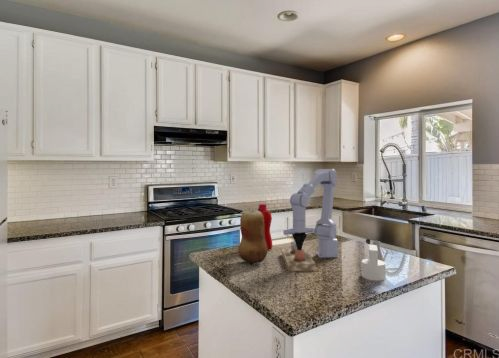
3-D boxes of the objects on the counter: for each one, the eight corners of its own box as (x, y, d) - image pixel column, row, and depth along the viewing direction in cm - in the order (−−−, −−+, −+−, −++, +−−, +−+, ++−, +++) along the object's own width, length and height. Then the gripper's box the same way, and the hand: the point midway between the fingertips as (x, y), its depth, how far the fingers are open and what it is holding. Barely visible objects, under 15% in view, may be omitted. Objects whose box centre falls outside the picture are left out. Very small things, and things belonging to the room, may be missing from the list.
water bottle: (249, 248, 170) (248, 204, 169) (266, 246, 174) (266, 202, 173) (256, 252, 162) (255, 205, 161) (274, 249, 166) (273, 204, 165)
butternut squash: (232, 263, 143) (232, 211, 142) (252, 257, 153) (251, 208, 152) (254, 270, 133) (254, 214, 132) (273, 263, 143) (273, 210, 142)
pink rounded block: (302, 257, 140) (302, 248, 140) (304, 260, 136) (304, 250, 136) (294, 258, 140) (294, 248, 140) (295, 260, 136) (295, 250, 136)
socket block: (305, 254, 156) (305, 248, 156) (315, 270, 132) (315, 263, 132) (281, 255, 156) (281, 249, 156) (288, 270, 132) (287, 264, 132)
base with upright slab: (386, 281, 118) (386, 251, 118) (361, 279, 121) (361, 249, 121) (384, 274, 127) (384, 245, 126) (361, 271, 130) (361, 244, 129)
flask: (385, 261, 144) (385, 240, 144) (384, 265, 137) (384, 244, 137) (368, 259, 147) (368, 239, 147) (367, 263, 140) (367, 242, 140)
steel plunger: (298, 250, 152) (298, 241, 152) (300, 253, 148) (299, 243, 148) (290, 250, 152) (290, 242, 152) (291, 253, 148) (291, 244, 148)
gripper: (309, 217, 143) (309, 245, 143) (280, 219, 139) (281, 248, 140) (316, 219, 136) (316, 249, 137) (286, 221, 132) (287, 252, 133)
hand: (299, 249), depth 138 cm, fingers closed
